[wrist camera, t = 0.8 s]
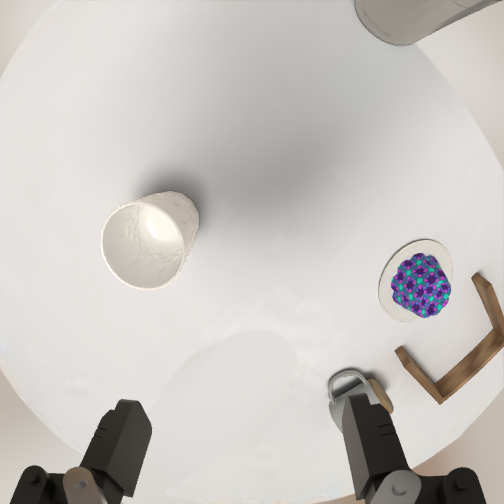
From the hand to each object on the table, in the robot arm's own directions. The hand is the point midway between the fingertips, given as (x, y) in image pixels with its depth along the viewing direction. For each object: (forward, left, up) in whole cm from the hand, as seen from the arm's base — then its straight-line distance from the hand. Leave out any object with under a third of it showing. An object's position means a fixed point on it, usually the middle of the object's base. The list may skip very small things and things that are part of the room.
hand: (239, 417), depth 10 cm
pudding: (-11, +21, -26) cm, 35 cm away
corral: (-11, +36, -25) cm, 45 cm away
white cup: (+5, -7, -25) cm, 27 cm away
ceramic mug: (+7, +29, -25) cm, 39 cm away
